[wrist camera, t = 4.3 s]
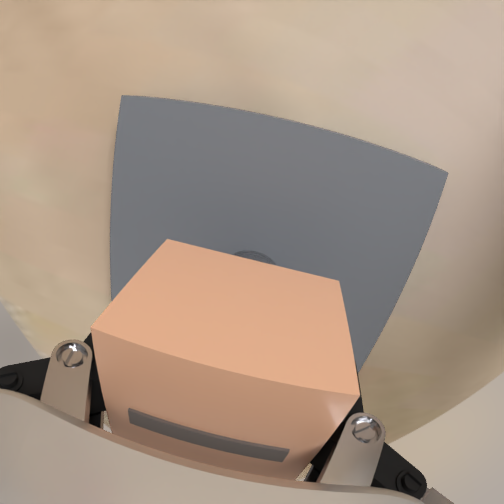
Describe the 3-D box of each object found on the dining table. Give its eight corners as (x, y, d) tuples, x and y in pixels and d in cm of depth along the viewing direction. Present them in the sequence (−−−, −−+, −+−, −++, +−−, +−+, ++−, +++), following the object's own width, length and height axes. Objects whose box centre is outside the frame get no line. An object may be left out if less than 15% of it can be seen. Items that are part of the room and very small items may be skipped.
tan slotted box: (339, 280, 11) (360, 398, 6) (290, 392, 13) (283, 494, 9) (167, 238, 11) (88, 329, 6) (159, 360, 13) (115, 451, 9)
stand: (435, 166, 13) (448, 172, 12) (338, 385, 20) (340, 401, 18) (136, 95, 14) (121, 95, 12) (124, 332, 20) (115, 345, 19)
